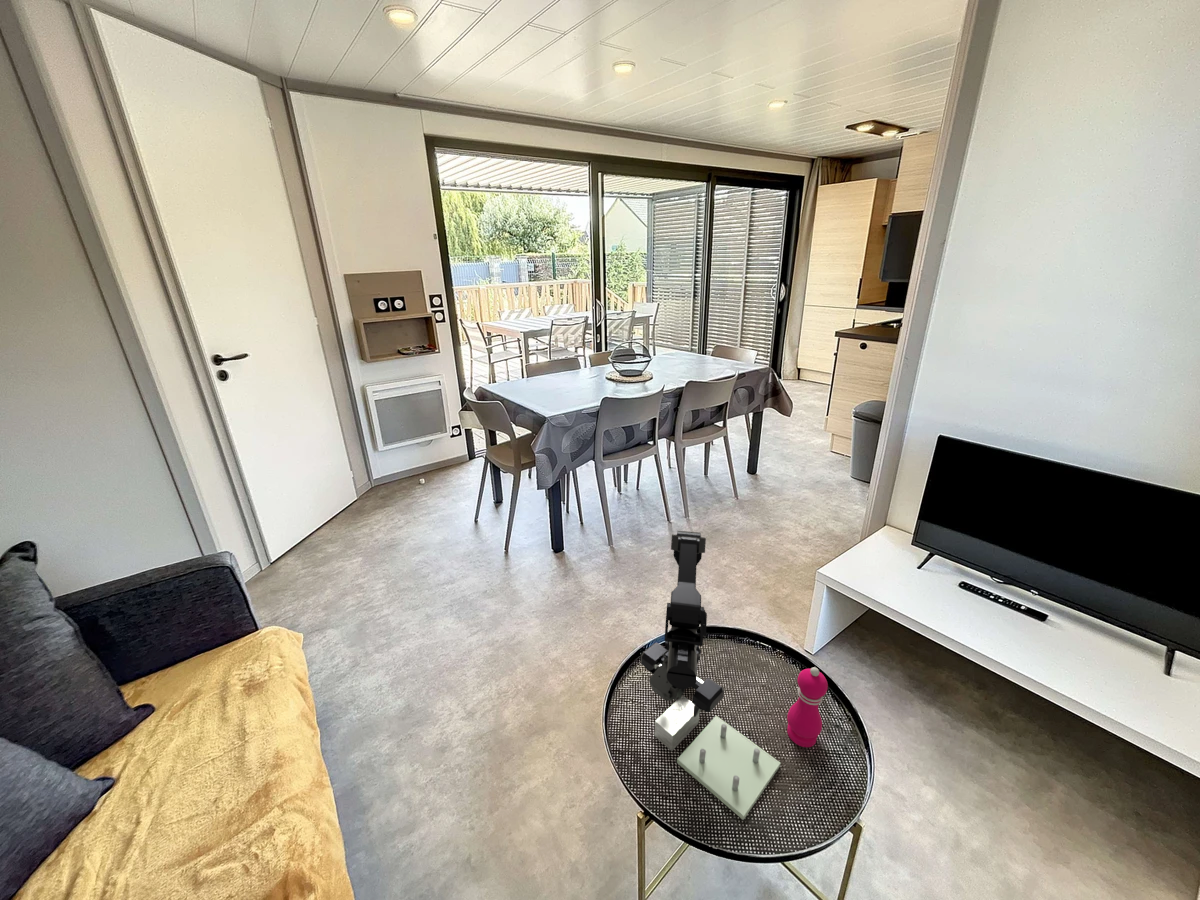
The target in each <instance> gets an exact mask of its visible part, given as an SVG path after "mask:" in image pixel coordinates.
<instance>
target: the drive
mask: <svg viewBox="0 0 1200 900" xmlns="http://www.w3.org/2000/svg"><path fill="white" fill-rule="evenodd" d="M693 710H694V704H692V701H691V700H690V699H689V698H688V697H686V696H685V695H684V694H683V695H682V696H681V698H680V699H679V700H678V701H676V700H675V702H674V703H672V704H671V706H669V707H668V708H667V709H666V710H665V711H664V712H663V713H662V714H661V715H660V716H659V717H658V718H656V720H654V737H655V738H656V739H657V740H658V741H659V742H661V743H662V744H663V745H664V746H665V747H667V749H668V750H669V751H671V752H673V751H674V749H675V748H677V746H678V745H679V744H681V742H682V741H683V740H685V738H686V737H687V736H688V735H689V734H690V733H691V732H692V731H693V730H694V729H695V728H696V726H697V725H698V724H699V723H700V722H699V720H700V712H701V711H700V712H699V713H698V715H697V716H696V717H694V716H693Z"/></svg>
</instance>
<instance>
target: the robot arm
mask: <svg viewBox="0 0 1200 900" xmlns="http://www.w3.org/2000/svg"><path fill="white" fill-rule="evenodd" d="M706 542H707V537H702V535H701V532H694V531H685V530H677V531H676V534H671V544H670V549H671V550H672V551H673V558H674V560H675V561H676V564H677V566H678V573H677V583H676V585H677V586H675V588H674V589H673V590H671V594H670V602H667V603H666V614H665V625H664V627H665V628H664V641H663V642H664V645H662V644H660V643H658V642H654V643H652V645H650V646H649V647H648V648H646V649H645V650H644V651H642V653H641V655H640V665H642V666H643V667H644V669H646V671H648V672H650V674H652V675H651V676H650V678H649V681H648V682H649V685H650V688H651V689H652V691H653V692H654V693H655V694H656V695H658V696H659V697H660V698H661V699H663V700H664V701H665V702H666V701H667V702H669V701H670V702H672V701H673V700H675V702H676V701H678V700H679V699H680V698H681V696H682V695H683V696H684V693H685V691H686V690H685V689H691V688H692V689H693V690H695V692H694V693H693V695H692V701H691V702H692V704H694V710H693V716H694V717H696V716H697V715H698V713H699V712H701V711H703V712H705V713H711V711H712V710H714V708H715V707H716V706H717V705H718V704H719V703H720V702H721V701H722V700H723V699H724V697H725V696H724V695H725V689H724V687H723V686H722V685H720V684H719V683H717V681H714V680H713V679H711V678H710V677H707V678H706V679H705V680H702V679H701V678H699V677H698V676H697V672H698V669H699V666H698V664H699V661H701V654H702V650H701V648H700V647H703V645H704V644H703V643H704V638H706V637H707V623H708V622H707V621H708V620H707V619H708V613H707V611H706V609H705V606H702V595H701V592H699V591H698V589H697V586H696V585H697V566H698V565H699V563H700V562H701V560H702V559H703V558H702V555H703V554H705V553H706ZM669 626H671V627H670V629H669ZM698 629H699V630H700V631H699V632H700V633H699V634H698V632H697V631H698Z"/></svg>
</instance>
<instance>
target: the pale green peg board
mask: <svg viewBox="0 0 1200 900" xmlns="http://www.w3.org/2000/svg"><path fill="white" fill-rule="evenodd" d="M676 764H678V765H679V767H681V768H683V770H685V771H686V772H687V773H688V774H689V775H691V777H692V778H694V779H695V780H696V781H697V782H699V784H701V785H702V786H703V787H704V788H706V789H707V790H708V791H709V792H710V793H711V794H712V795H713V796H715V797H716V798H717V799H718V800H719V801H720V802H722V803H723V804H724V805H725V806H726V807H727V808H729V809H730V810H731V811H732V812H733V813H735V814H736V815H737V816H738V817H739V818H740V819H741V820H742V821H744V820H745V819H746V817H747V816H748V814H749V812H750V811H751V810H752V808H753V807H754V805H755V804H756V803H757V801H758V799H759V798H760V797H761V795H762V793H764V791H765V789H766V788H767V786H768V784H769V783H770V782H771V781H772V779H773V778H774V776H775V775H776V773H777V772H778V770H779V768H780V767H781V762H780V761H779V760H777V759H776V758H775V757H773V756H772V755H771V754H770V753H768V752H766V751H765V750H763V749H762V747H759V746H758V745H757V744H756V743H754V742H753V741H751V740H750V739H749V738H747V737H746V736H744V735H743V734H742V733H741V732H739V730H737V729H736V728H734V727H733V726H731V725H730V724H728V723H727V722H726V721H725V720H723V719H721V718H720V717H719V716H717V715H715V716H714V718H712V720H711V721H709V723H708V724H707V725H706V726H705V727H704V728H703V730H702V731H701V732H700V733H699V734H698V735H697V736H696V738H695V739H694V740H692V742H691V743H690V744H689V745H688V746H687V747H686V748H685V749H684V751H683V752H682V753H681V754H680V756H678V757H677V758H676Z"/></svg>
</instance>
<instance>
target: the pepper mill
mask: <svg viewBox="0 0 1200 900" xmlns="http://www.w3.org/2000/svg"><path fill="white" fill-rule="evenodd" d="M796 680H797V685H798V686H797V687H798V688H797V696H798V698H797V701H795V703H793V704H792V705H791V706H790V708H789V709H788V712H787V715H786V716H787V718H786V720H787V728H786V732H787V735H788V737H789V739H790V740H791V741H792V742H793V743H794V744H796V745H797V746H799V747H802V748H811V747H813V746H815V744H816V743H817V738H818V736H819V735H820V734H821V733H822V729H823V720H822V716H821V713H820V712H819V705H820V704H822V702H823V698H824V696H825V695H826V694H827V692H828V687H829V684H828V681H827V679H826V677H825V676H824V674H823V673H822V672H820V669H818V668H817V667H816V666H814V667H811V668H809V667H808V668H805V669H802V670H801V671H800V672H799V673H798V675H797V679H796Z"/></svg>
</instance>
